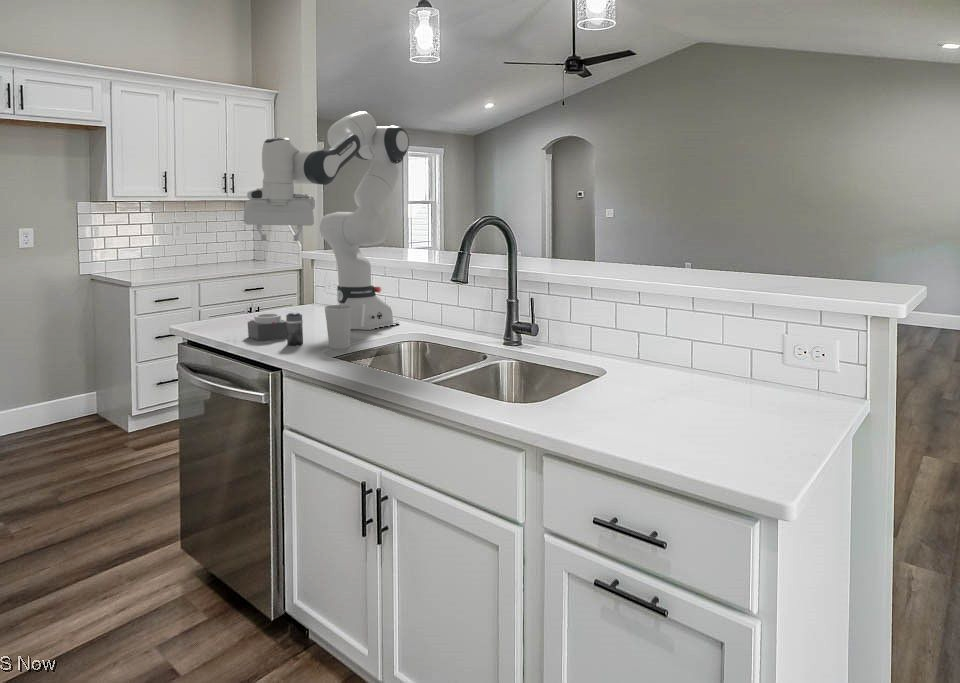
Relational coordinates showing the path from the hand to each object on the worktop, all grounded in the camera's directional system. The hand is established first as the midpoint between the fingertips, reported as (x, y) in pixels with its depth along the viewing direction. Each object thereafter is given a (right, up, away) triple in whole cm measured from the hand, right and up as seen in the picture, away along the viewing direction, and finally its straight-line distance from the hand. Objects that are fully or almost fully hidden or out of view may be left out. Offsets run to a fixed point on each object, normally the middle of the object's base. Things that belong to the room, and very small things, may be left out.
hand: (280, 240), depth 209 cm
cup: (+18, -32, -1) cm, 37 cm away
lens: (+4, -31, +2) cm, 32 cm away
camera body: (-7, -29, +12) cm, 32 cm away
